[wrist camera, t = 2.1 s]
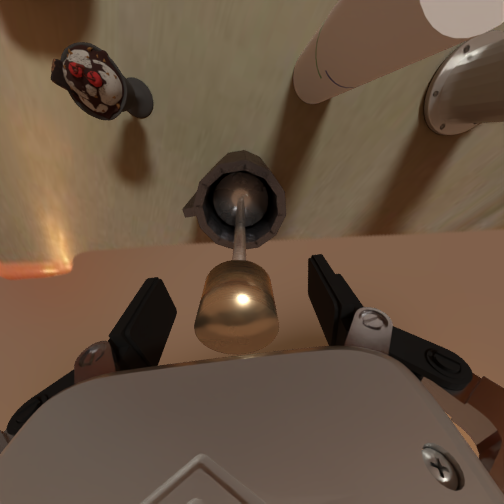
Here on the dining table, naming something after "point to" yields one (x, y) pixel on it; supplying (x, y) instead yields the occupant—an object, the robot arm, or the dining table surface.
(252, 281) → the plunger
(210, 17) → the dining table surface
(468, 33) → the cylindrical container
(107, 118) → the sundae
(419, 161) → the dining table surface
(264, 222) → the press carafe
